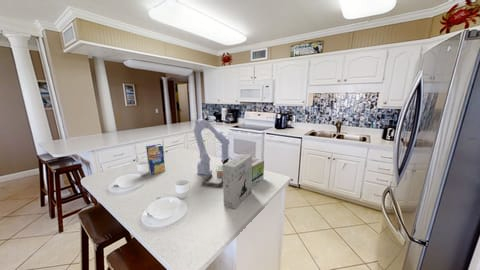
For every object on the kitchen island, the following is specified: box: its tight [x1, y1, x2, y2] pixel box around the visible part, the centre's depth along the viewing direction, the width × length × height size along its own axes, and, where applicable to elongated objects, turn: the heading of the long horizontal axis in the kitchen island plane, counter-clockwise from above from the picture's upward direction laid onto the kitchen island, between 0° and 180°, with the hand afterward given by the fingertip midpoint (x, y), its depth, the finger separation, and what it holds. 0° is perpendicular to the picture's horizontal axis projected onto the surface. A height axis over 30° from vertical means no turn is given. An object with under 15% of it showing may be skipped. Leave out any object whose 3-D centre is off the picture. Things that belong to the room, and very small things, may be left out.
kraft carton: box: [215, 164, 223, 178], centre depth 143 cm, size 8×12×5 cm, turn 9°
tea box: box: [252, 157, 265, 187], centre depth 130 cm, size 15×10×15 cm, turn 143°
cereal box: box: [222, 153, 253, 210], centre depth 106 cm, size 22×8×25 cm, turn 151°
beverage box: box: [146, 143, 166, 175], centre depth 145 cm, size 7×11×22 cm, turn 129°
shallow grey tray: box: [201, 172, 223, 189], centre depth 130 cm, size 13×15×2 cm
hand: (225, 167), depth 153 cm, fingers closed
